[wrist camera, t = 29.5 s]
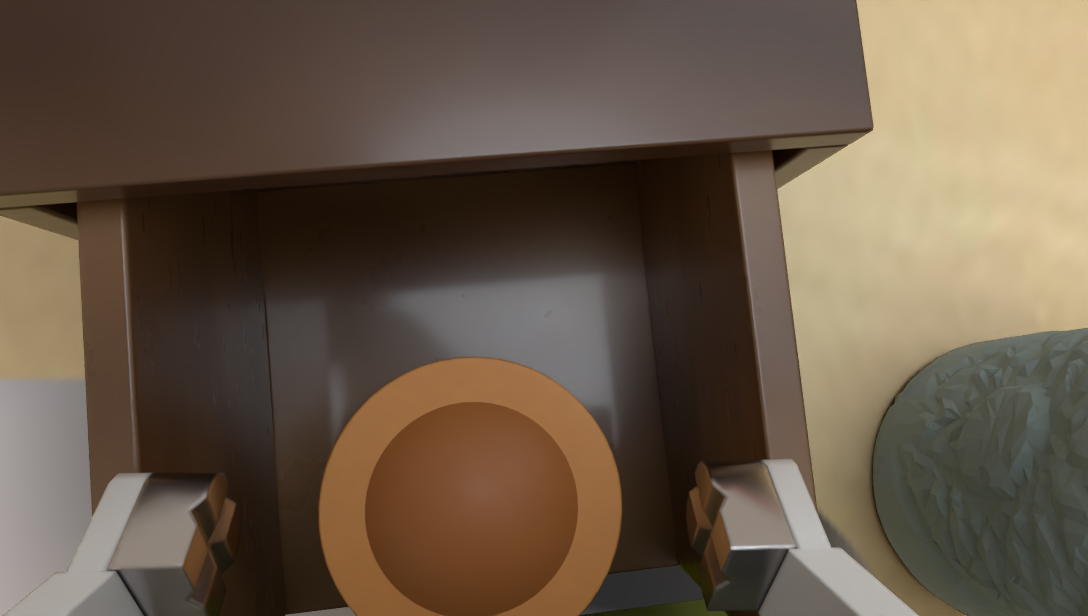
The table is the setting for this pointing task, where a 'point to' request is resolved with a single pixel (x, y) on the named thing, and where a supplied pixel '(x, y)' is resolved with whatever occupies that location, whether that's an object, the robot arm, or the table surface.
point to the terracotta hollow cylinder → (470, 496)
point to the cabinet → (405, 91)
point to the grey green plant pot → (992, 476)
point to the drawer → (440, 335)
